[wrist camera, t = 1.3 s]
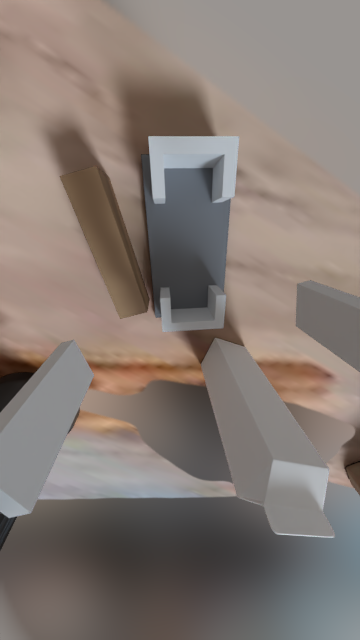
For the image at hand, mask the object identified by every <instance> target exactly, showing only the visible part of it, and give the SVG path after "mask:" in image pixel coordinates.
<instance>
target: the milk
mask: <svg viewBox="0 0 360 640" xmlns="http://www.w3.org/2000/svg"><path fill="white" fill-rule="evenodd" d="M201 367H202V371H203V375H204V378H205V382H206V385H207V389H208V393H209V396H210V399H211V403H212V407H213V411H214V414H215V418H216V421H217V425H218V429H219V432H220V436H221V440H222V443H223V447H224V450H225V454H226V458H227V461H228V465H229V469H230V472H231V476H232V480H233V483H234V487H235V490H236V494H237V497H238V498H241V499H244V500H247V501H250V502H253V503H256V504H259V505H262V506H263V508H264V510H265V513H266V516H267V518H268V521H269V524H270V526H271V528H272V530H273V531H274V532H275V533H276V534H284V535H299V536H314V537H315V536H316V537H330V538H333V537H335V534H334V531H333V529H332V527H331V525H330V524H329V522H328V520H327V519H326V516H325V515H324V513H323V506H324V500H325V494H326V488H327V482H328V475H329V467H328V466H327V464H326V463H325V462H324V460H323V459H322V457H321V456H320V454H319V453H318V451H317V450H316V449H315V447H314V446H313V444H312V443H311V441H310V440H309V438H308V437H307V436H306V434H305V433H304V431H303V430H302V428H301V427H300V425H299V424H298V423H297V421H296V420H295V418H294V417H293V415H292V414H291V413H290V411H289V410H288V408H287V407H286V405H285V404H284V402H283V401H282V399H281V398H280V396H279V395H278V394H277V392H276V391H275V389H274V388H273V386H272V385H271V383H270V382H269V381H268V379H267V378H266V376H265V375H264V373H263V372H262V370H261V369H260V368H259V366H258V365H257V363H256V362H255V360H254V359H253V357H252V356H251V355H250V353H249V352H248V350H247V349H246V347H244V346H241V345H237V344H234V343H231V342H228V341H225V340H222V339H219V338H215V339H214V341H213V342H212V344H211V346H210V348H209V350H208V352H207V354H206V356H205V357H204V359H203V361H202V363H201Z"/></svg>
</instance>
